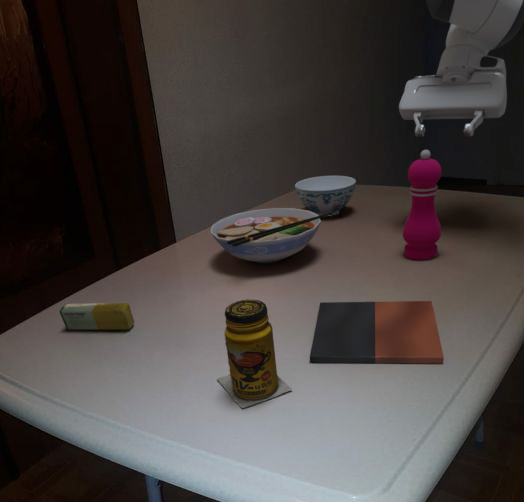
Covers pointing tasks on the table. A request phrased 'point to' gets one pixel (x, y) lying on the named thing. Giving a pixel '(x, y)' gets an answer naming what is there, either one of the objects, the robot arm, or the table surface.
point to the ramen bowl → (266, 233)
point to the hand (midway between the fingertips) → (442, 134)
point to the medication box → (97, 316)
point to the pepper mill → (422, 209)
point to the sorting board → (376, 333)
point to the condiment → (250, 354)
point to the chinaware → (325, 193)
